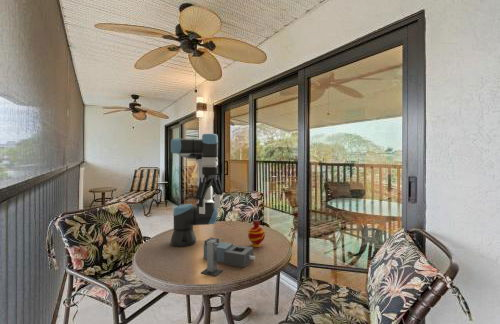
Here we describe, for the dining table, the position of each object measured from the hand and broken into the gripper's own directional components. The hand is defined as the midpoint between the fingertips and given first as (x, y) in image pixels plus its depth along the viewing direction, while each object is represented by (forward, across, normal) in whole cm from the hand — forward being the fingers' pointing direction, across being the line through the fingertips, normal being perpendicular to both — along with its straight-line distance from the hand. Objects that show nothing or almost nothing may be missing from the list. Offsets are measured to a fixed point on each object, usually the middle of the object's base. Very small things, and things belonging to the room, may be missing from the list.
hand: (210, 210), depth 122 cm
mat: (+27, -5, -4) cm, 28 cm away
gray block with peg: (+26, -6, -4) cm, 27 cm away
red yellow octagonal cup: (+28, +36, -10) cm, 46 cm away
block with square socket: (+27, +11, -4) cm, 30 cm away
